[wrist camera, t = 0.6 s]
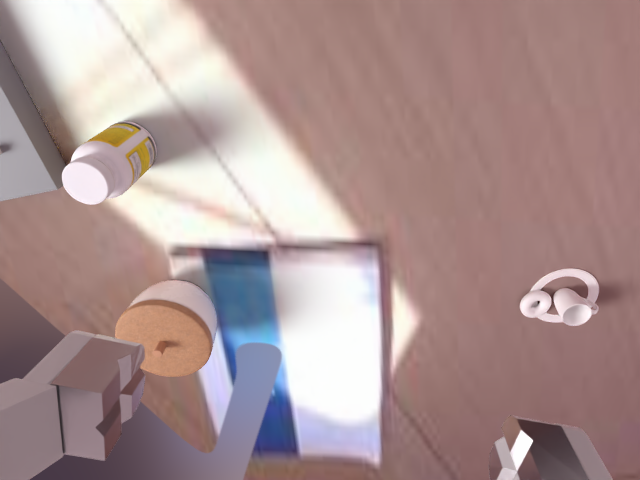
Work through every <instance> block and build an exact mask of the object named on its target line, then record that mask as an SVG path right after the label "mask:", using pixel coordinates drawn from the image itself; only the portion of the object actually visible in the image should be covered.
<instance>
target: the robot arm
mask: <svg viewBox="0 0 640 480" xmlns="http://www.w3.org/2000/svg"><path fill="white" fill-rule="evenodd" d="M144 359H145V347H144V346H143V345H142V344H140V343H135V342H131V341H126V340H121V339H117V338H112V337H108V336H103V335H96V334H92V333H87V332H83V331H78V330H75V331H73V332H70V333H69V334H68V335H67V336H66V337H65V338H64V339H63V340H62V341H61V342H60V343H59V344H58V345H57V346H56V347H55V348H54V349H53V350H52V351H51V352H50V353H48V354H47V355H46V356H45V357H44V358H43V359H42V361H40V362H39V363H38V364H37V365H36V366H35V367H34V369H32V370H31V371H30V372H29V373H28V374H27V375H26V376H25V377H24V378H23V379H18V378H14V379H12V380H9V381H7V382H4V383H2V384H0V480H29V479H31V478H32V477H34V476H35V475H37V474H38V473H39V472H41V471H43V470H44V469H46V468H47V467H48V466H50V465H51V464H53V463H54V462H56V461H57V460H59V459H60V458H62V457H63V454H67V455H73V456H79V457H86V458H91V459H97V460H103V461H105V460H106V458H107V457H108V455H109V454H110V452H111V450H112V449H113V447H114V445H115V444H116V442H117V440H118V439H119V437H120V436H121V423H123V422H125V421H126V420H128V419H130V418H132V416H133V414H134V413H135V411H136V409H137V408H138V405H139V402H140V400H141V397H142V395H143V390H144V384H145V374H144V373H143V371H142V370H141V369H140V365H141V364H142V362H143V361H144ZM501 428H502V431H503V434H504V437H503V438H501V439H499V440H498V441H496V442H494V445H493V447H492V450H491V452H490V457H489V475H490V480H613V479H612V477H611V475H610V474H609V472H608V470H607V468H606V467H605V465H604V463H603V462H602V460H601V458H600V456H599V455H598V453H597V451H596V449H595V448H594V446H593V444H592V443H591V441H590V439H589V437H588V436H587V434H586V432H585V431H583V430H582V429H581V428H580V427H574V426H569V425H563V424H557V423H556V424H554V423H550V422H544V421H539V420H534V419H528V418H523V417H517V416H512V415H510V416H509V417H508V418H506V419H505V421H504V423H503V425H502V427H501Z"/></svg>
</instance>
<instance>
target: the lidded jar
mask: <svg viewBox="0 0 640 480" xmlns="http://www.w3.org/2000/svg"><path fill="white" fill-rule="evenodd" d="M216 330H217V315H216V310H215V307H214V305H213V303H212V301H211V299H210V298H209V297H208V295H207V294H206V293H205V292H204V291H203V290H202V289H201V288H200V287H198V286H197V285H195V284H193V283H191V282H187V281H178V280H169V281H163V282H159V283H156V284H154V285H152V286H150V287H148V288H147V289H146V290H144V291H143V292H142V293H140V294H139V295H138V296H137V297H136V298H135V299H134V301H133V302H132V303H131V304H130V305H129V307H128V308H127V309H126V310H125V312H124V313H123V314H122V315H121V317H120V318H119V320H118V322H117V324H116V328H115V336H116V338H117V339H121V340H126V341H131V342H135V343H140V344H142V345H143V346H144V347H145V359H144V361H143V362H142V364H141V365H140V368H142V369H144V370H146V371H148V372H150V373H154V374H157V375H161V376H169V377H177V376H184V375H188V374H191V373H193V372H196V371H197V370H199V369H201V368H202V367H203V366H204V365H205V364H206V362H207V361H208V359H209V357H210V355H211V352H212V347H213V343H214V340H215V336H216Z"/></svg>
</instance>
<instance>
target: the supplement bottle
mask: <svg viewBox="0 0 640 480" xmlns="http://www.w3.org/2000/svg"><path fill="white" fill-rule="evenodd" d="M156 156H157V148H156V144H155V141H154V139H153V137H152V136H151V135H150V133H149V132H148V131H147V130H146V129H144V128H143V127H142V126H140V125H138V124H136V123H133V122H127V121H124V122H118V123H116V124H113V125H112V126H110V127H108V128H107V129H106V130H104V131H103V132H101V133H99V134H98V135H96V136H95V137H93V138H92V139H90V140H88V141H87V142H85V143H84V144H82V145H81V146H80V147H78V148H77V149H76V150H75V152H74V154H73V155H72V158H71V163H69V164H68V165H67V166H66V167H65V168H64V170H63V172H62V182H63V185H64V187H65V189H66V191H67V192H68V193H69V194H70V195H71V196H72V197H73V198H74V199H76V200H78V201H79V202H82V203H85V204H91V205H92V204H98V203H101V202H103V201H104V200H105V199H106V198H114V197H117V196H120V195H122V194H123V193H124V192H126V191H127V190H128V189H129V188H130V187H131V186H132V185H133V184H134V183H135V182H136V181H137V180H138V179H139V178H140V177H141V176H142V175H143V174H144V173H145V172H146V171H147V170H148V169H149V168H150V167H151V166H152V165H153V163H154V162H155V159H156Z"/></svg>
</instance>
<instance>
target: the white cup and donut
mask: <svg viewBox="0 0 640 480" xmlns="http://www.w3.org/2000/svg"><path fill="white" fill-rule="evenodd" d="M564 276H573V277H577V278H580V279H582V280H583V281H584V282H585V283H586V284H587V286H588V297H587V299H585V298H583V297H580V296H579V295H578V294H577V293H576V292H575V291H573V290H571V289H569V288H562V289H559V290H558V291H556V292H555V294H554V298H553V299H554V304H555V307H556V309H557V311H558V313H559V315H551V314H548V313H546V312H547V311H548V310H549V308H550V306H551V297H550V295H549V294H548V293H546V292H544V291H540V290H541V289H542V287H543V286H544V285H545V284H547V283H548V282H550V281H551V280H553V279H556V278H559V277H564ZM598 294H599V285H598V282H597V280H596V279H595V277H594V276H593V275H591V274H590V273H588V272H586V271H584V270H581V269H574V268H568V269H561V270H557V271H554V272H552V273H549V274H547V275H546V276H544V277H543V278H541V279H540V280H539V281H538V282H537V283H536V284H535V285H534V286H533V288H532V289H531V291H530V292H529V293H528V294H526V295H525V296H524V297H523V298H522V300H521V302H520V309H521V312H522V313H523V314H524V315H525V316H527V317H531V318H534V317H537V318H539V319H541V320H544V321H547V322H564V323H565V324H567V325H570V326H577V325H581V324H583V323H585V322H586V321H588V320H589V318H590V317H591V314H596V313H597V312H598V310H599V307H598V306H597V305H596V304H595V301H596V300H597V297H598ZM537 301H540V303H539V304H538V303H537ZM591 307H594V308H595V309H596V310H591Z"/></svg>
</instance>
